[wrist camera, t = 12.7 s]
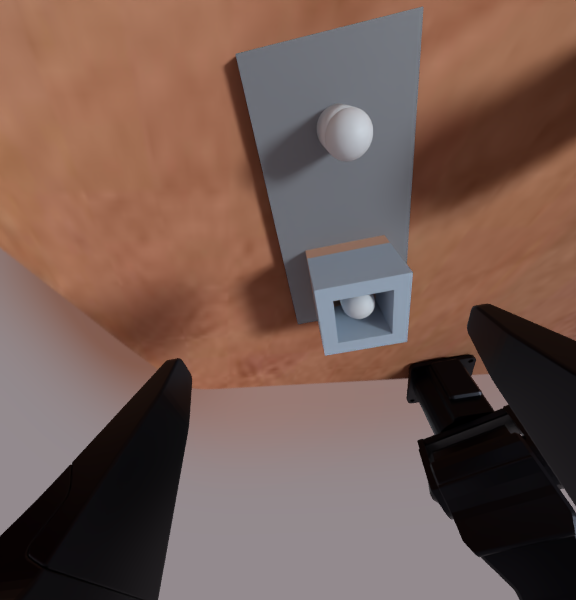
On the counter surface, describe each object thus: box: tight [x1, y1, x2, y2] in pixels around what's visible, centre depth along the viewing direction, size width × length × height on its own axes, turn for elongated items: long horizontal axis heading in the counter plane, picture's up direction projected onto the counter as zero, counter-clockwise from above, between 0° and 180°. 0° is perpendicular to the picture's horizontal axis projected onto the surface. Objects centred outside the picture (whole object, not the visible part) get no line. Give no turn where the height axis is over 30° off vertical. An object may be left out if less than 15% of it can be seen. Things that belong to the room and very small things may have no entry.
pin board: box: [236, 7, 423, 324], centre depth 18 cm, size 18×9×5 cm, turn 11°
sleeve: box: [306, 235, 413, 356], centre depth 20 cm, size 6×6×5 cm
